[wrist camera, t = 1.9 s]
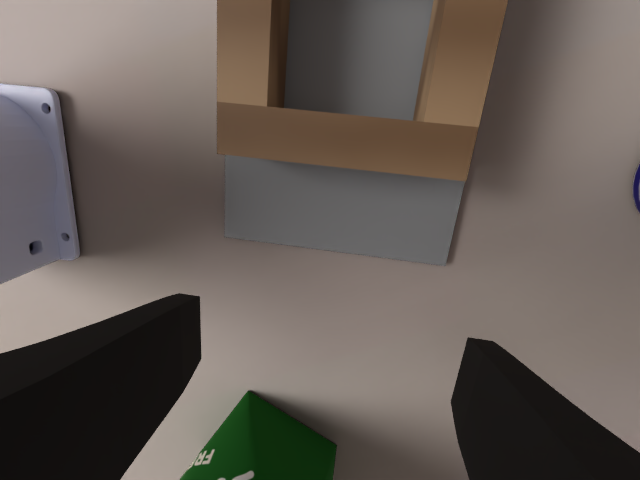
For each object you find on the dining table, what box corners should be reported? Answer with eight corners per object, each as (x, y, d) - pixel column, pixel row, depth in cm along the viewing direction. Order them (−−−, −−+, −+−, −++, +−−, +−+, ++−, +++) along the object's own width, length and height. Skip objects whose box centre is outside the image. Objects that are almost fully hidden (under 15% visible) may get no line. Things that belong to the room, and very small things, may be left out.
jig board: (443, 263, 18) (465, 297, 14) (227, 234, 19) (194, 260, 15) (560, -249, 12) (652, -425, 8) (232, -252, 13) (178, -411, 9)
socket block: (447, 172, 16) (466, 181, 13) (241, 150, 17) (217, 153, 14) (504, -94, 13) (545, -159, 10) (247, -106, 14) (217, -169, 11)
